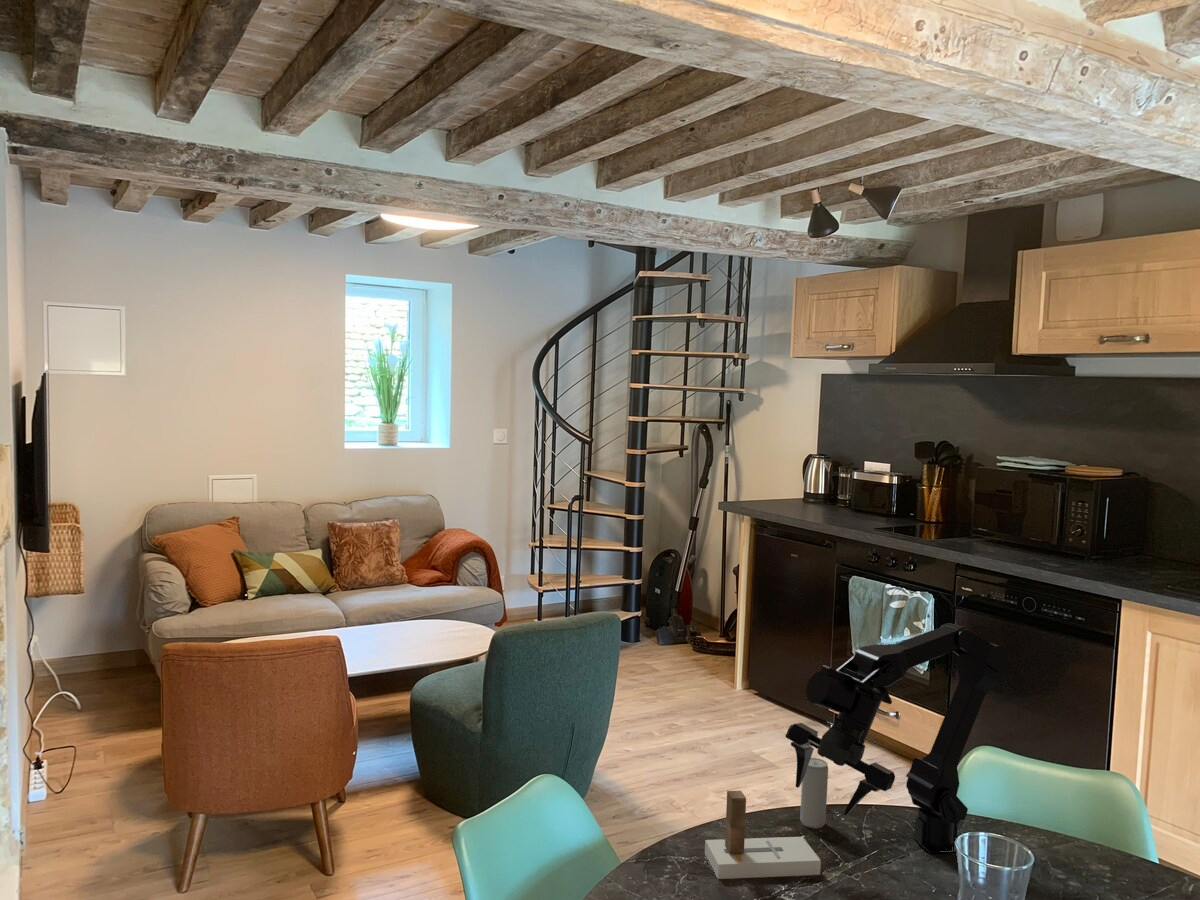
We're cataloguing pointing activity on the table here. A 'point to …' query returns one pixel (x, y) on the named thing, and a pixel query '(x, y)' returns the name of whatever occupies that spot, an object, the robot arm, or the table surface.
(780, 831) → the table surface
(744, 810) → the lever
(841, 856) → the table surface
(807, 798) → the beverage can
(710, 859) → the fader console
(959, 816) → the robot arm
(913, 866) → the table surface
